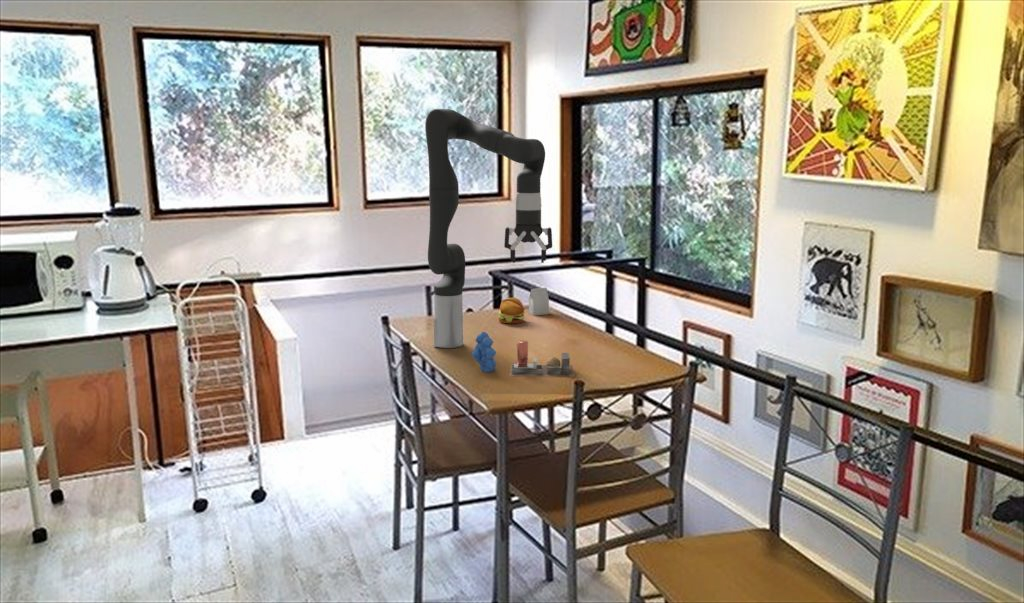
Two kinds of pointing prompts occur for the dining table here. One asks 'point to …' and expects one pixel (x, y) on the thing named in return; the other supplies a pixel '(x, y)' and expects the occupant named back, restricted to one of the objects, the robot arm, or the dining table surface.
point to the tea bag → (538, 302)
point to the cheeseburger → (511, 311)
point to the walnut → (553, 362)
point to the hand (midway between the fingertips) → (528, 262)
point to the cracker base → (547, 370)
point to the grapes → (484, 352)
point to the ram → (524, 357)
